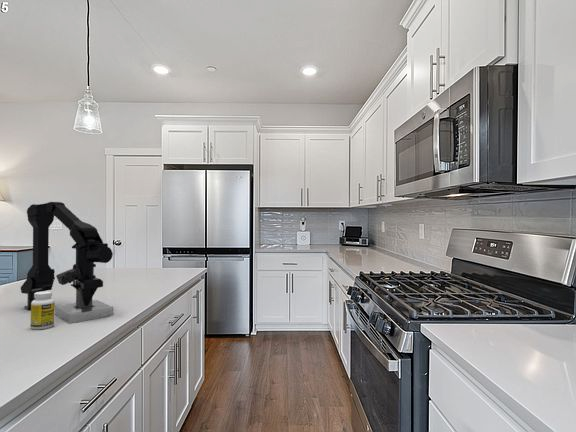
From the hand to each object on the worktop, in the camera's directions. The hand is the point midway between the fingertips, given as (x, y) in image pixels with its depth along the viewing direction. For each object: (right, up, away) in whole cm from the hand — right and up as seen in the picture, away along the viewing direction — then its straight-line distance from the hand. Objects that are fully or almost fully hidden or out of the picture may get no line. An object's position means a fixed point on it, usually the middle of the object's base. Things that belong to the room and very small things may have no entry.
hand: (84, 304), depth 127 cm
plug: (0, -2, 0) cm, 2 cm away
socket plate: (0, -4, 0) cm, 4 cm away
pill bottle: (-5, -4, -14) cm, 16 cm away
